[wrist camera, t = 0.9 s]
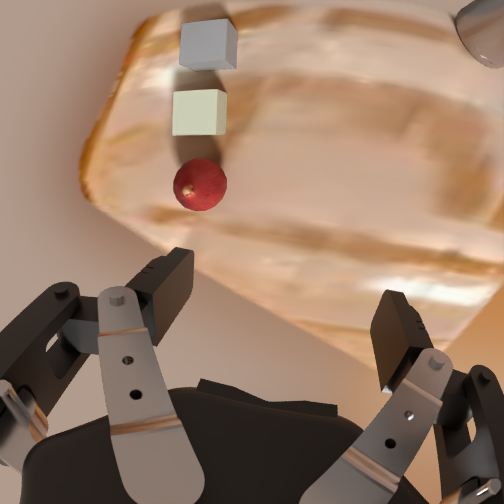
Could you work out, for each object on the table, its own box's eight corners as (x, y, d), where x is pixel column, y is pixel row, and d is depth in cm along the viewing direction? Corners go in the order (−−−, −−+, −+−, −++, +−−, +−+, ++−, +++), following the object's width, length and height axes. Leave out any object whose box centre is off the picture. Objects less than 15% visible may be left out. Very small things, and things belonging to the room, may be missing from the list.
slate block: (197, 35, 28) (181, 23, 23) (238, 32, 27) (227, 18, 23) (195, 71, 30) (179, 63, 25) (236, 69, 29) (225, 60, 25)
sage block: (187, 95, 31) (173, 91, 28) (227, 93, 31) (217, 89, 27) (186, 134, 33) (172, 135, 30) (225, 134, 33) (216, 134, 29)
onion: (210, 211, 36) (187, 233, 29) (179, 179, 36) (148, 193, 28) (243, 179, 34) (225, 193, 27) (209, 145, 33) (183, 151, 26)
